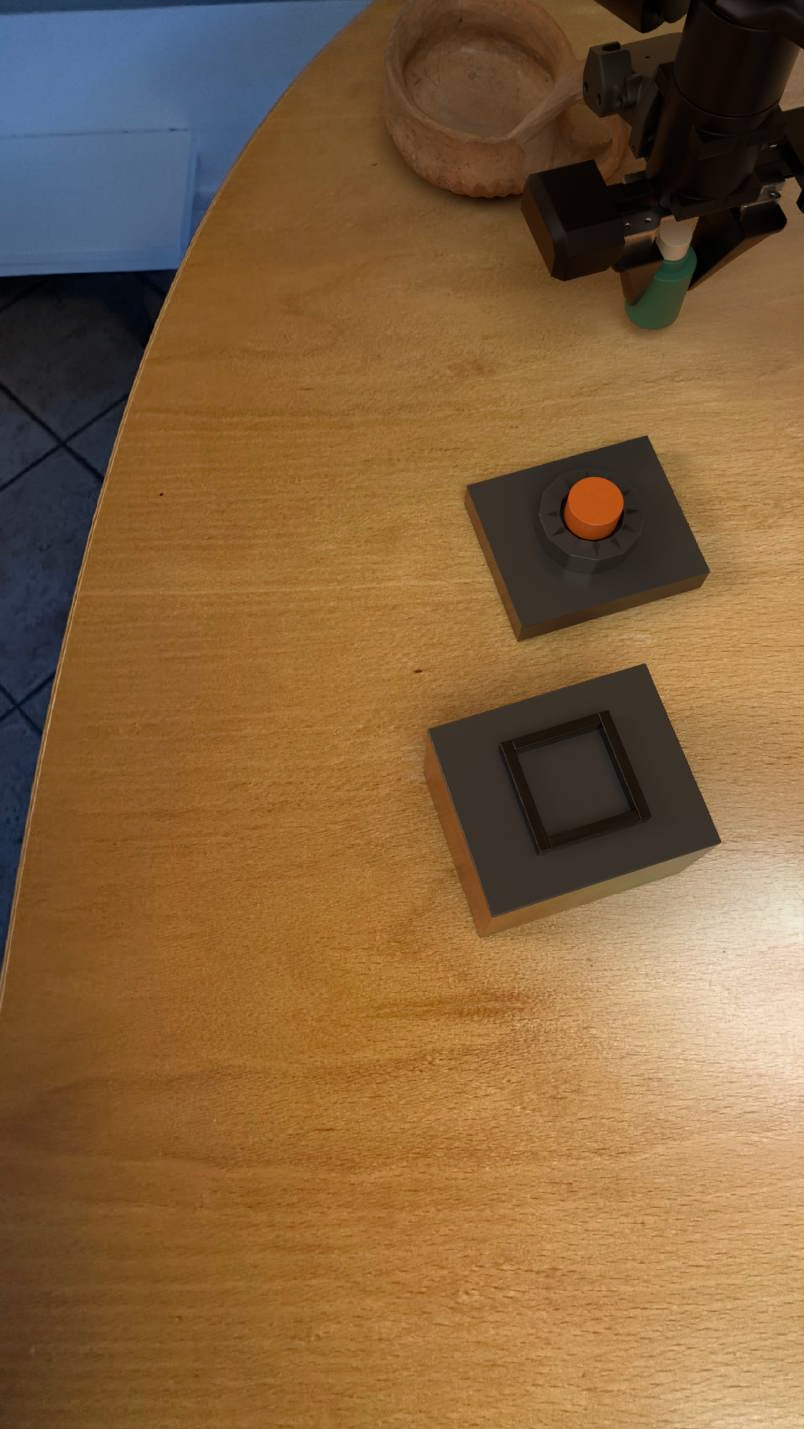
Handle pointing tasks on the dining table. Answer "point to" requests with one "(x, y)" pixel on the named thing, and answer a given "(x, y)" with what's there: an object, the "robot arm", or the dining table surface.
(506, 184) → the bowl
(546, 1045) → the dining table surface
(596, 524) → the button
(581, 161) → the robot arm
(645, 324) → the bottle
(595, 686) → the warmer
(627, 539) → the control
